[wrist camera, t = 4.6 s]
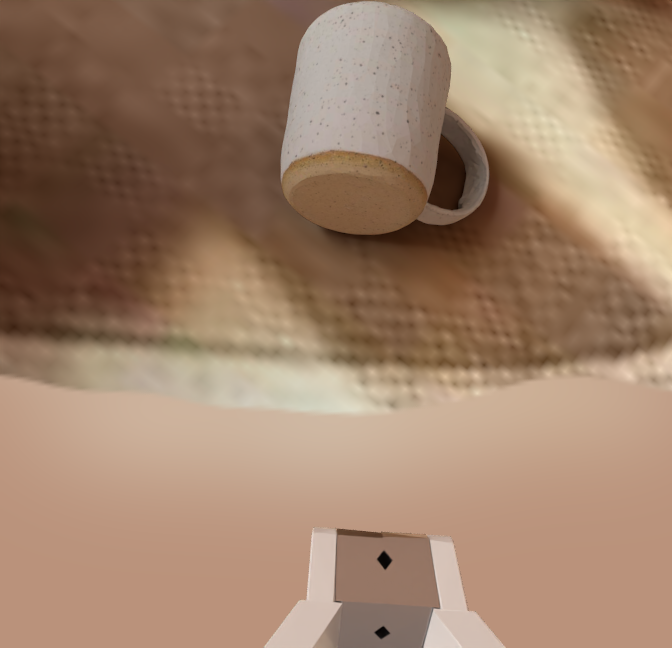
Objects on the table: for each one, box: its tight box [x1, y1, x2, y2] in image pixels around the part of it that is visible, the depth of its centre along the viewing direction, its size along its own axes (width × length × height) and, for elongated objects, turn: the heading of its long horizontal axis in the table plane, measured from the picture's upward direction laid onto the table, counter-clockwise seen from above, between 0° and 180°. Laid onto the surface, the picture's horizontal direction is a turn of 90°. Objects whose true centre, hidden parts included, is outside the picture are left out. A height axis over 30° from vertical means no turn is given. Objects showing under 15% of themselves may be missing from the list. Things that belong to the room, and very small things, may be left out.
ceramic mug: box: [281, 1, 489, 235], centre depth 24 cm, size 11×8×8 cm
